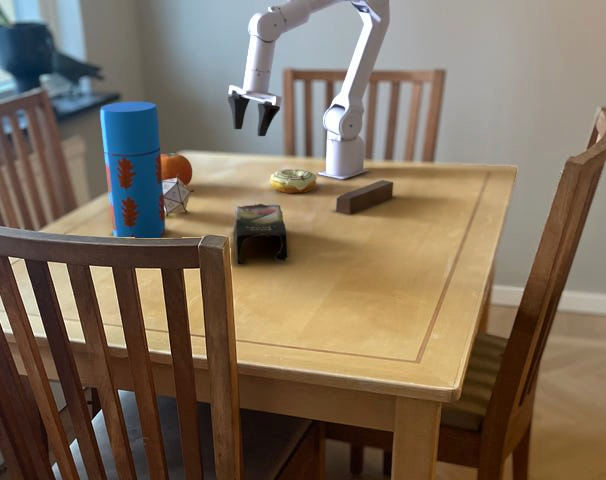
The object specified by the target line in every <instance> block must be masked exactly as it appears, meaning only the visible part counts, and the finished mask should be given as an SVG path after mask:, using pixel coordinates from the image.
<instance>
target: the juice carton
mask: <svg viewBox="0 0 606 480" xmlns="http://www.w3.org/2000/svg"><path fill="white" fill-rule="evenodd" d="M234 207H235V208H234V221H233V222H234V223H233V231H232V235H233V242H234V250H235V259H236V263H237V264H238V265H241V264H243V262H241V260H240V256H241V251H242V248H243V244H244V243H245V241H246V240H247V239H250V238H254V237H260V236H263V235H265V236H266V237H268V238H269V237H272V236H273V237H274V236H275V237H276V236H277V237H280V239H279V243H281V247H280V250H279V251H278V252H277V254H276V255H275V256H274V259H276V260H279V261H287V259H288V257H289V251H288V234H287V229H286V228H287V227H286V224H285V222H284V215H283V211H282V209H281V205H280V204H273V203H271V204H264V203H255V204H253V205H250V204H249V205H242V206H241V205H240V206H239V205H236V206H234Z"/></svg>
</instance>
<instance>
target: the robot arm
mask: <svg viewBox="0 0 606 480" xmlns="http://www.w3.org/2000/svg"><path fill="white" fill-rule="evenodd" d="M342 2H348V3H349V4H350V5H351V6H352V7H353V8H354V9H355V10H357V13H358V14H359V16H360V18H361V20H362V22H363V27H362V30H361V33H360V36H359V38H358V41H357V44H356V47H355V49H354V52H353V56H352V58H351V61H350V64H349V67H348V69H347V73H346V74H345V75H346V76H345V78H344V81H343V84H342V87H341V90H340V92H339V93H338V94H337V95H336V96H335V97H334V98H333V99H332V102H331V104H330V106H329V108H327V109H326V111H325V112H324V114H323V117H322V125H323V127H324V128H325V130H326V131H327V134H326V159H325V170H322V171H319V172H318V175H320V176H324V177H329V178H334V179H340V180H346V179H349V178H352V177H355V176H357V175H360V174H363V173H366V172H367V169H364V162H365V143H364V140H363V138H362V137H361V136H360V133H361V131H362V129H363V116H364V113H365V107H364V103H363V98H364V96H365V92H366V89H367V87H368V84H369V82H370V79H371V76H372V73H373V71H374V67H375V64H376V62H377V59H378V56H379V53H380V50H381V48H382V45H383V43H384V39H385V37H386V35H387V31H388V29H389V26H390V22H391V14H390V12H391V11H390V0H286V1H285V2H282V3H280V4H278V5H270V6H268V10H267V11H258V12H256V13H255V14H253V15H252V17H251V18H250V21H249V22H248V23H247V31H248V33H249V35H250V38H249V39H250V40H249V46H248V51H247V59H246V65H245V73H244V81H243V86H240V85H234V84H233V85H232V84H231V85H230V84H229V89H228V95H231V96H227V101H228V104H229V107H230V109H231V115H232V125H233V130H242V128H243V125H244V119H245V115H246V112H247V108H248V105H249V103H250V100H253V101H257V102H258V103H257V110H258V123H257V137H266V135H267V133H268V130H269V128H270V126H271V123H272V121H273V120H274V118H275V117H276V115H277V114H278V112H279V111H280V110H281V105H282V100H283V96H281V95H277V94H274V93H270V92H269V88H270V81H271V75H272V68H273V62H274V56H275V55H274V54H275V47H276V42H277V41H278V40H279V39H280V37H281V35H282V34H285V33H287V32H289V31H292V30H293V29H296V28H298V27H300V26H303V25H304V24H306V23H308V22H309V20H310V17H311V15H312V14H315V13H317V12H319V11H322V10H324V9H327V8H329V7H332V6H334V5H337V4H339V3H342ZM259 102H261V103H259Z"/></svg>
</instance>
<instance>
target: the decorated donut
mask: <svg viewBox="0 0 606 480" xmlns="http://www.w3.org/2000/svg"><path fill="white" fill-rule="evenodd" d="M317 179H318V176H317V175H316V174H315V173H313V172H311V171H310V170H309V171H308V170H304V169H296V168H295V169H294V168H290V169H289V168H288V169H282V170H278V171H275V172H274V173H272V174H271V175H270V179H269V182H270V185H271V187H272V188H273V189H274V190H275V191H277V192H280V193H286V194H290V193H293V194H295V193H296V194H297V193H303V194H304V193H306V192H310V191H311V190H314V189H315V188H316V185H317Z"/></svg>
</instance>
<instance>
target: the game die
mask: <svg viewBox="0 0 606 480" xmlns="http://www.w3.org/2000/svg"><path fill="white" fill-rule="evenodd" d="M178 177H179V174H178V175H177V178H172V179H167V180H162V182H163V196H164V210H165V219H166V218H168V217H169V214H174V213H178V212H183V211H184V212H185V213H186V214H188V210H187V207H188V206H187V205H188V202H189V200H190V196H191V194H192V193H194V192H195V189H190V188H189V187H188V185H187V186H186V185H185V184H184V183H183V182H182V181H181V180H180V179H179V178H178ZM185 213H184V214H185Z"/></svg>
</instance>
